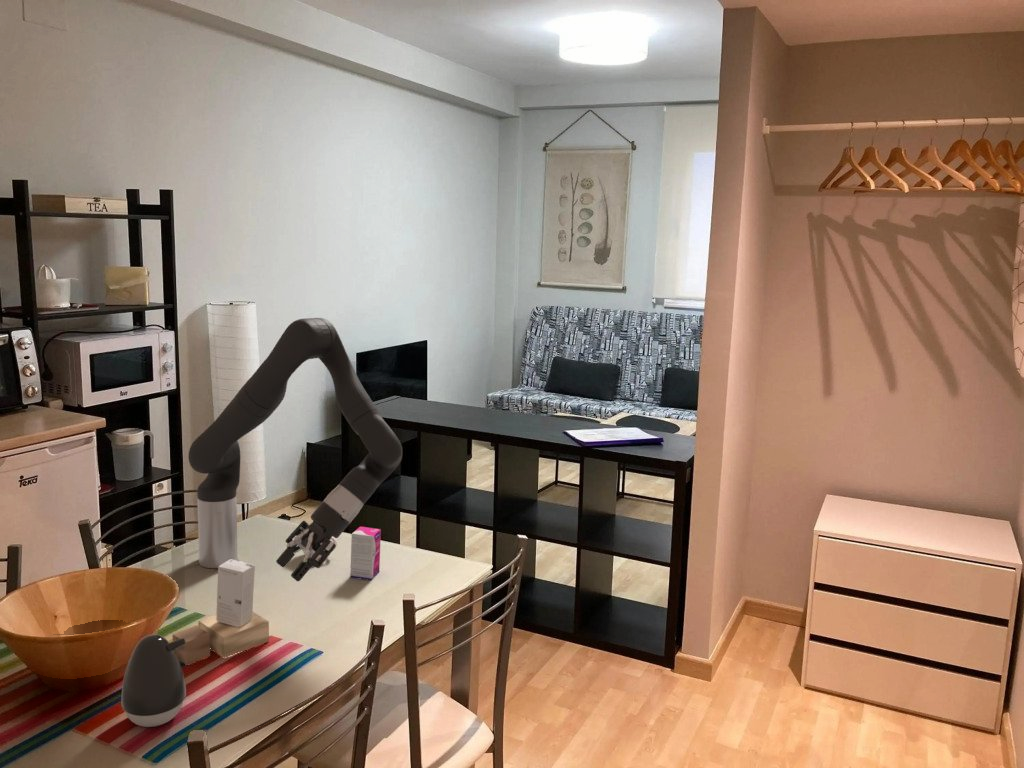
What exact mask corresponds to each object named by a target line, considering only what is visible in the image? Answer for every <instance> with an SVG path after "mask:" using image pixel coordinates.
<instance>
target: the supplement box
mask: <svg viewBox="0 0 1024 768" xmlns="http://www.w3.org/2000/svg"><path fill="white" fill-rule="evenodd" d="M381 532H382V530H381V528H374V527H366V526H359V527H358V528H357V529H356V530H355V531H353V532H352V533H351V539H350V540H351V541H350V542H351V545H350V573H349V574H350V575H349V578H350V577H351V578H350V579H356V578H361V579H360V580H364V579H368V580H367V581H372V580H373V579H374V578H375V576H377V575H378V574H379V573H380V565H381V563H380V562H381V559H380V558H381V541H382V539H381V535H382V533H381Z"/></svg>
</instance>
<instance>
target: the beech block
mask: <svg viewBox="0 0 1024 768" xmlns="http://www.w3.org/2000/svg"><path fill="white" fill-rule="evenodd" d="M197 623H198V625H197V627H199V628H201V629H203V630H204V631H206V632H208V633H209V634H210V648H211V649H212V650H214V651H215V652H216V653H218V654H219V655H221V656H222V657H224V658H225V657H228V656H230V655H233V654H235V653H238V652H241V651H244V650H246V649H249V648H252V647H254V646H257V645H260V644H263V643H266V642H269V643H270V622H269V620H268V619H266V618H264V617H263V616H261V615H259V614H257V613H256V612H254V611H252V619H251V620H250V621H249V622H248V623H246V624H245V625H243V626H241V627H235V626H231V625H228V624H224V623H221V622H218V621H217V620H216V614H214V615H211V616H208V617H204V618H202V619H198V622H197ZM266 644H267V643H266ZM263 645H264V644H263ZM211 649H210V650H211ZM212 650H211V651H212ZM215 652H214V653H215ZM244 652H245V651H244ZM216 653H215V654H216ZM218 654H217V655H218ZM219 655H218V656H219ZM222 657H221V658H222ZM228 658H229V657H228Z"/></svg>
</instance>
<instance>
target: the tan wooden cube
mask: <svg viewBox="0 0 1024 768" xmlns="http://www.w3.org/2000/svg"><path fill="white" fill-rule="evenodd" d="M171 637H172V642H173V641H176V640H179V639H182V638H184V639H185V641H186V643H185V644H184V645H182V646H180V647H178V648H176V649H174V650H175V652H176V654H177V656H178V659H179V660H181V661H182V662H183V663H185V664H187V665H188V664H191V663H193V662H196V661H198V660H201V659H203V658H206V657H208V656H210V657H211V649H210V634H209V633H208V632H206V631H204V630H203V629H201V628H199V627H198V625H193V626H192V627H188V628H185V629H183V630H180V631H178V632H174V633H172V635H171ZM206 659H207V658H206ZM201 661H202V660H201ZM183 663H182V664H183ZM196 663H197V662H196ZM191 665H192V664H191Z"/></svg>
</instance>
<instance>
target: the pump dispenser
mask: <svg viewBox="0 0 1024 768" xmlns="http://www.w3.org/2000/svg"><path fill="white" fill-rule="evenodd" d="M185 643H186V641H185V639H184V638H182V639H179V640H176V641H173V640H172V641H171V642H170V641H169V640H168V639H167V638H166V637H165V636H163V635H160V634H156V633H154V634H148V635H146V636H144V637H142V638H140V640H139V641H138V642H137V644H136V645H135V647H134V648H133V651H132V652H131V655H130V657H129V658H128V659H129V660H128V662H127V664H126V668H125V671H124V672H125V673H124V676H123V681H122V687H121V696H120V697H121V699H120V700H121V708H122V710H123V711H124V713H125V715H126V716H127V718H128V719H129V720H130V721H131V722H132V723H134V724H135V725H137V726H140V727H145V728H151V727H159V726H161V725H164V724H166V723H168V722H170V721H171V720H173V719H174V718H175V717H176V716H177V715H178V714H179V712H180V710H181V708H183V707H182V706H183V703H184V702H185V699H186V697H187V687H186V686H187V685H186V680H185V676H184V671H183V668H182V665H181V664H182V663H181V662H180V661H179V659H178V656H177V654H176V652H175V650H174V649H176V648H178V647H180V646H182V645H184V644H185Z"/></svg>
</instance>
